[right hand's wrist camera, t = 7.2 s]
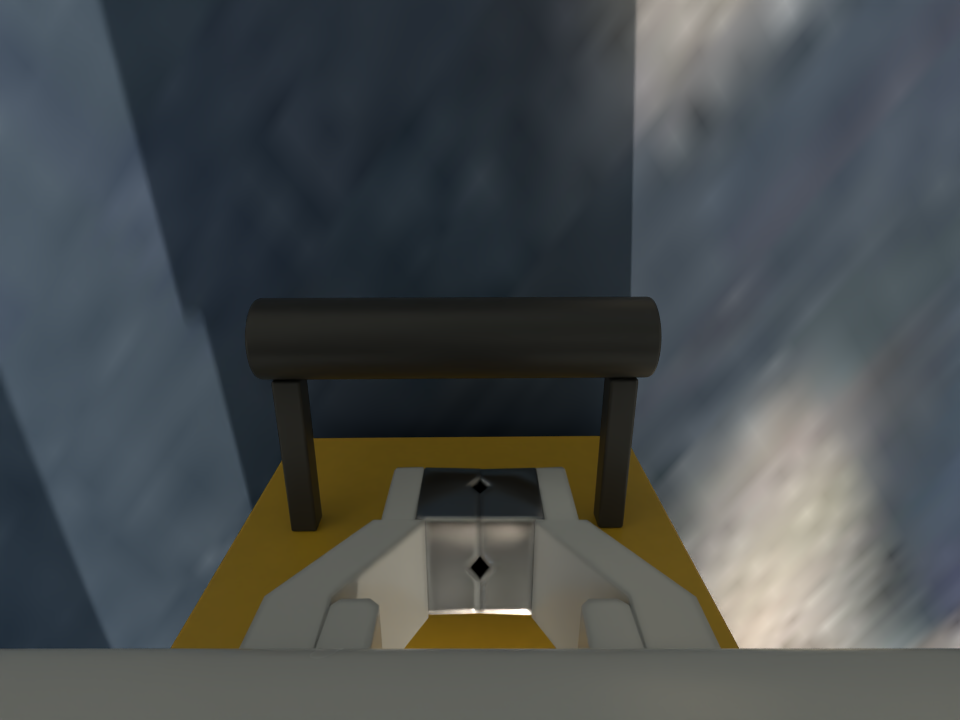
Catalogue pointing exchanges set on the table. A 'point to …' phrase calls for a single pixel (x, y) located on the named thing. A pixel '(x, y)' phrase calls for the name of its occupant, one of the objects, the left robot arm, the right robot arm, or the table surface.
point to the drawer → (439, 441)
